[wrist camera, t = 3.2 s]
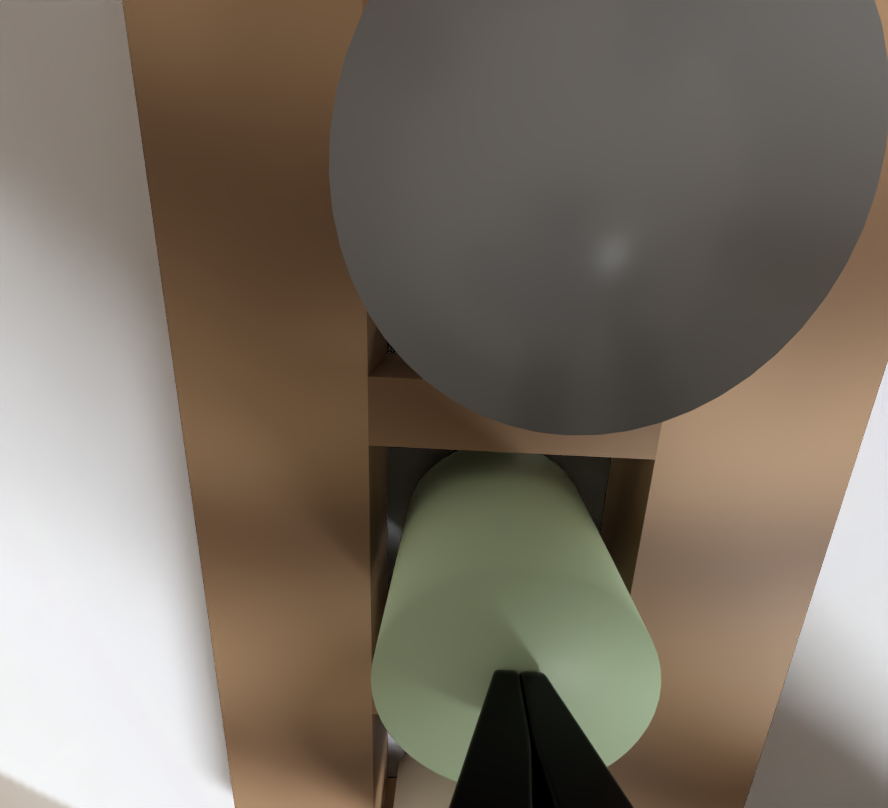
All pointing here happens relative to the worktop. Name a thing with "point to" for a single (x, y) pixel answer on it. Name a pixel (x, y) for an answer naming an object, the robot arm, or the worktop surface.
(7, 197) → the worktop surface
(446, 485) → the pale green cylinder
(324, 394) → the wooden compartment tray
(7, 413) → the worktop surface
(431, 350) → the grey short cylinder
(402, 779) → the cream cylinder
